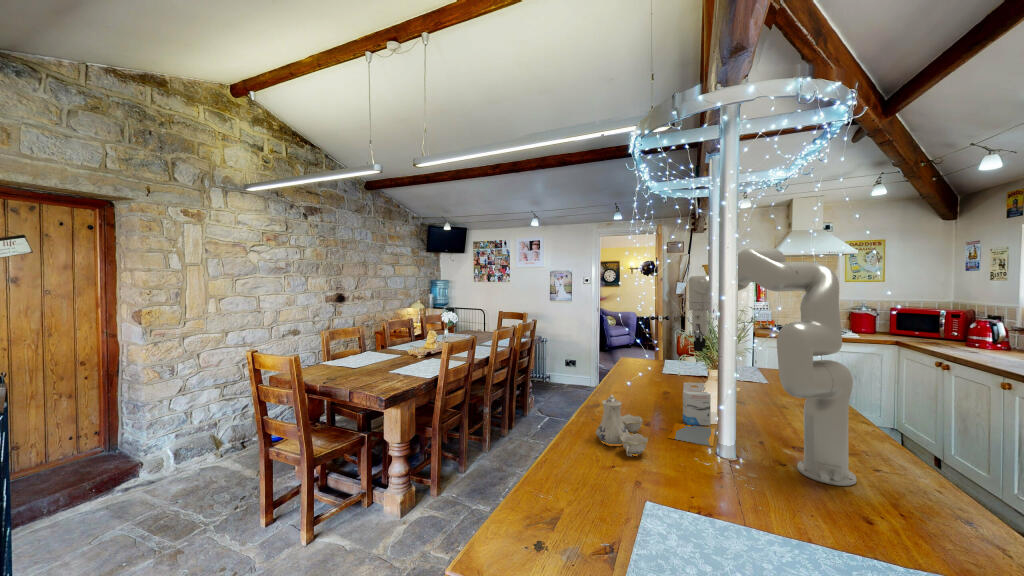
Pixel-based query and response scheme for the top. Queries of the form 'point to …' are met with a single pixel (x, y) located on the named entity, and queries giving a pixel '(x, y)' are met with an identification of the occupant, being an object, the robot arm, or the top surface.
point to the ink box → (696, 405)
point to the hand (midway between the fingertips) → (699, 349)
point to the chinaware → (621, 428)
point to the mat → (694, 434)
